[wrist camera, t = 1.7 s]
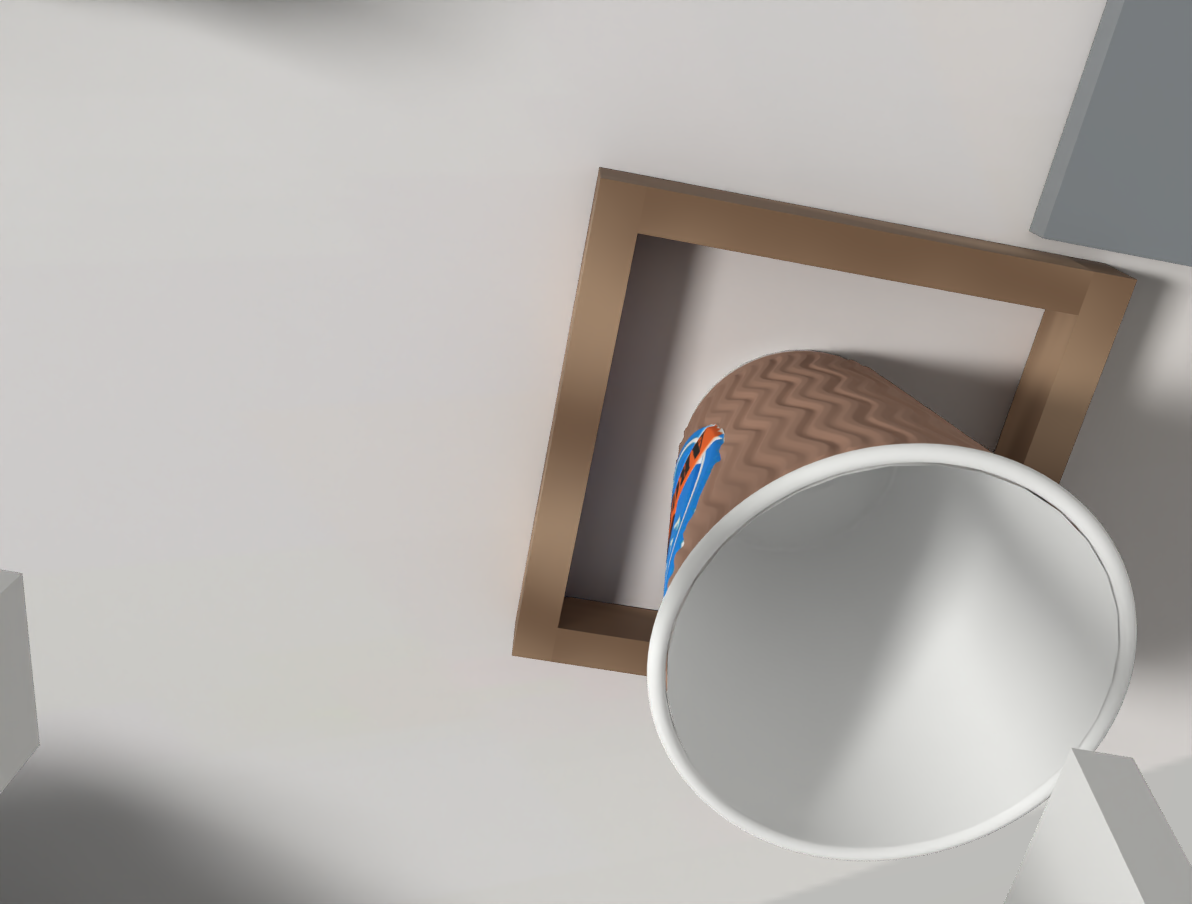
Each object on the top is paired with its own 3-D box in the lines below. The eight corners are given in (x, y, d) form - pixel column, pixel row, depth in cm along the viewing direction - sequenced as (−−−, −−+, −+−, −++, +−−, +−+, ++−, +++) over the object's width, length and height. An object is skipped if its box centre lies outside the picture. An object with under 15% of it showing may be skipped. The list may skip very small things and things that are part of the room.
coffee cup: (609, 313, 32) (623, 477, 21) (958, 273, 32) (1161, 419, 21) (642, 613, 36) (669, 885, 25) (954, 580, 36) (1122, 841, 25)
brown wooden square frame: (947, 689, 37) (966, 725, 35) (515, 621, 36) (511, 655, 34) (1104, 263, 32) (1137, 280, 30) (599, 167, 30) (600, 177, 29)
